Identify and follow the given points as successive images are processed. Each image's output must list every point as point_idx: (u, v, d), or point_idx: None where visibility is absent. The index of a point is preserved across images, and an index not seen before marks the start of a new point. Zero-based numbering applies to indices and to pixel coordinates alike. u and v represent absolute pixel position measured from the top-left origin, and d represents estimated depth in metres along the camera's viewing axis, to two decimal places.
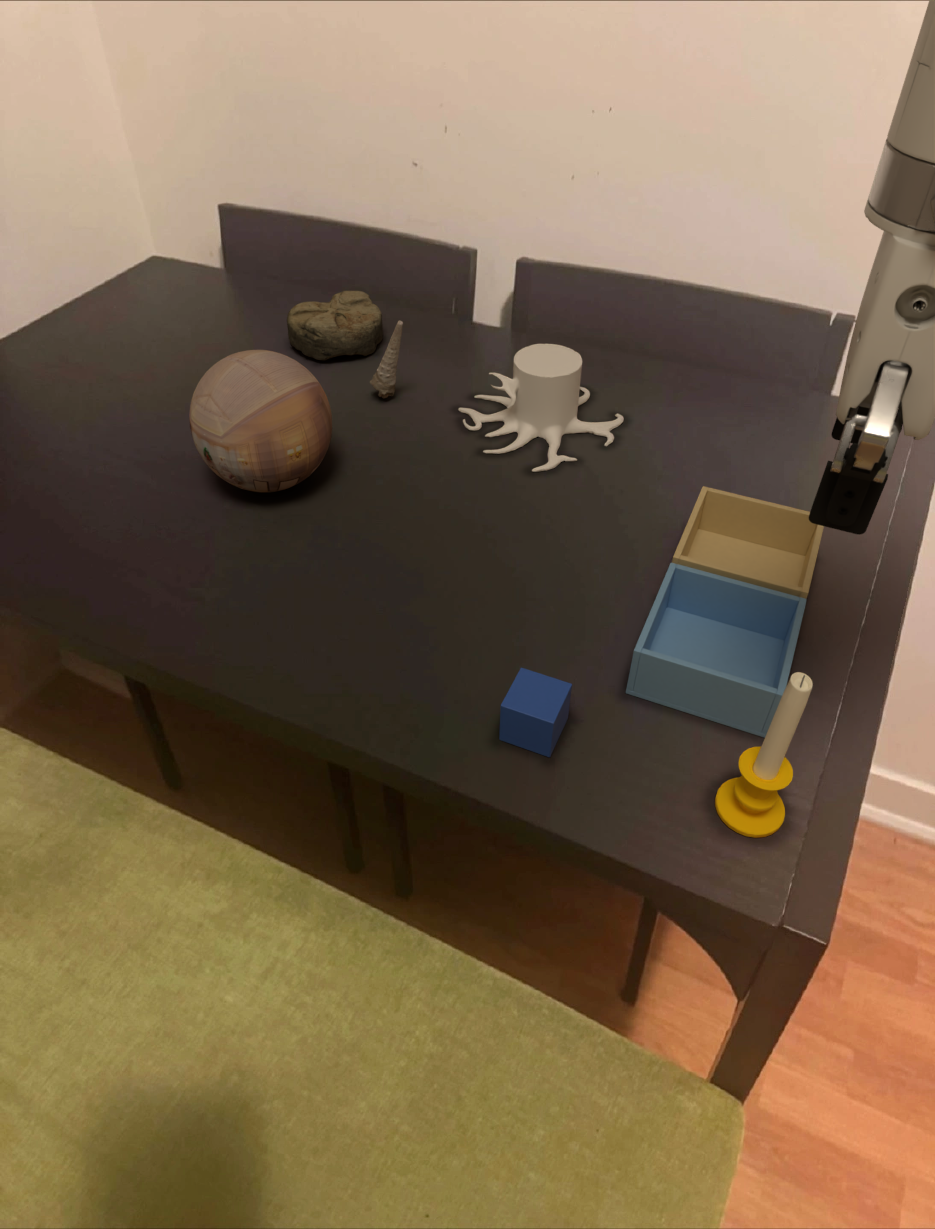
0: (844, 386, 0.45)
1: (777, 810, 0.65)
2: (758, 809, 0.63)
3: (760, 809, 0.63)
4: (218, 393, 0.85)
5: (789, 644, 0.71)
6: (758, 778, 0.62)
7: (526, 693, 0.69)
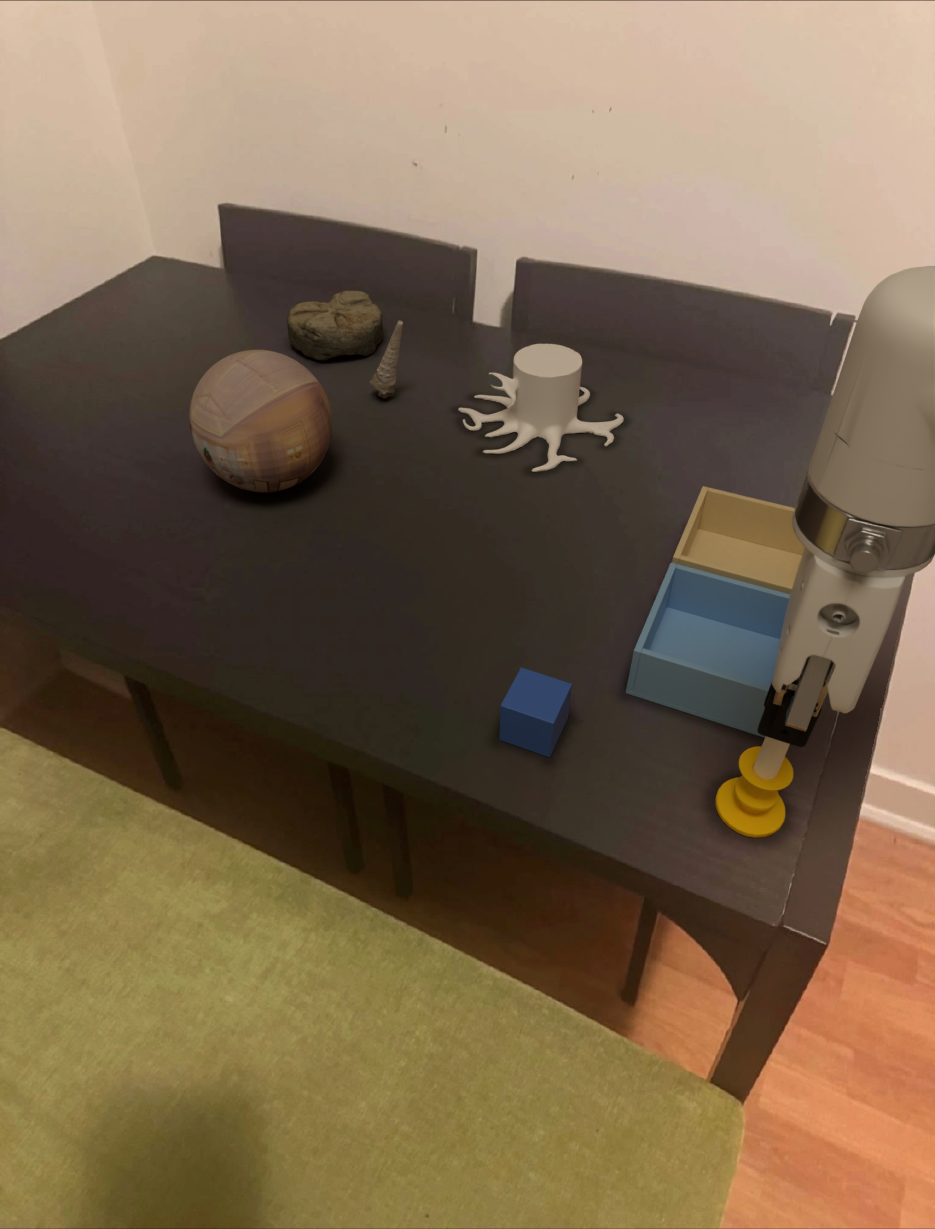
0: (777, 665, 0.50)
1: (777, 810, 0.65)
2: (758, 809, 0.63)
3: (760, 809, 0.63)
4: (218, 393, 0.85)
5: None
6: (758, 778, 0.62)
7: (526, 693, 0.69)
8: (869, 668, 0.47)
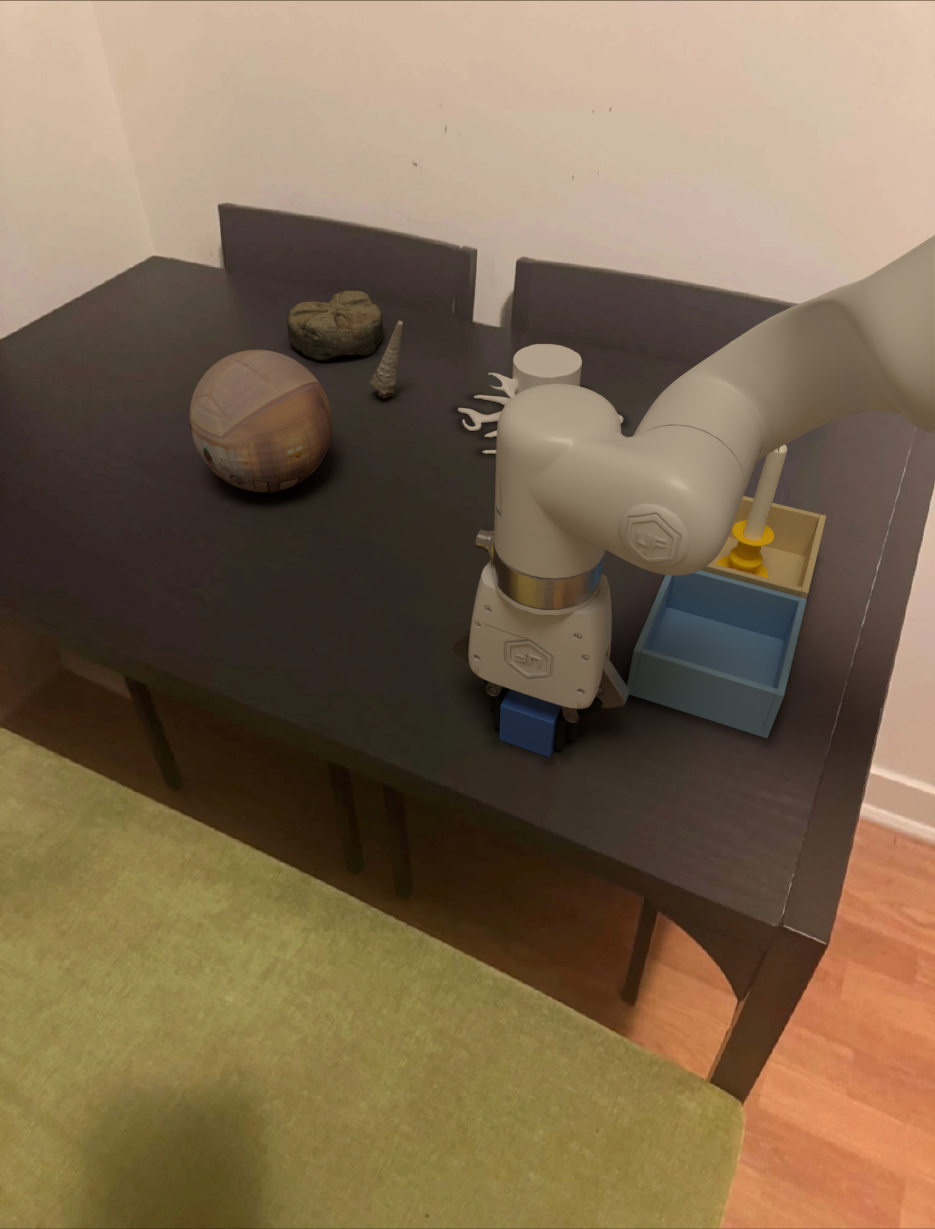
0: None
1: (762, 574, 0.84)
2: (747, 567, 0.82)
3: (749, 567, 0.82)
4: (218, 393, 0.85)
5: (789, 644, 0.71)
6: (747, 539, 0.81)
7: None
8: (471, 635, 0.63)
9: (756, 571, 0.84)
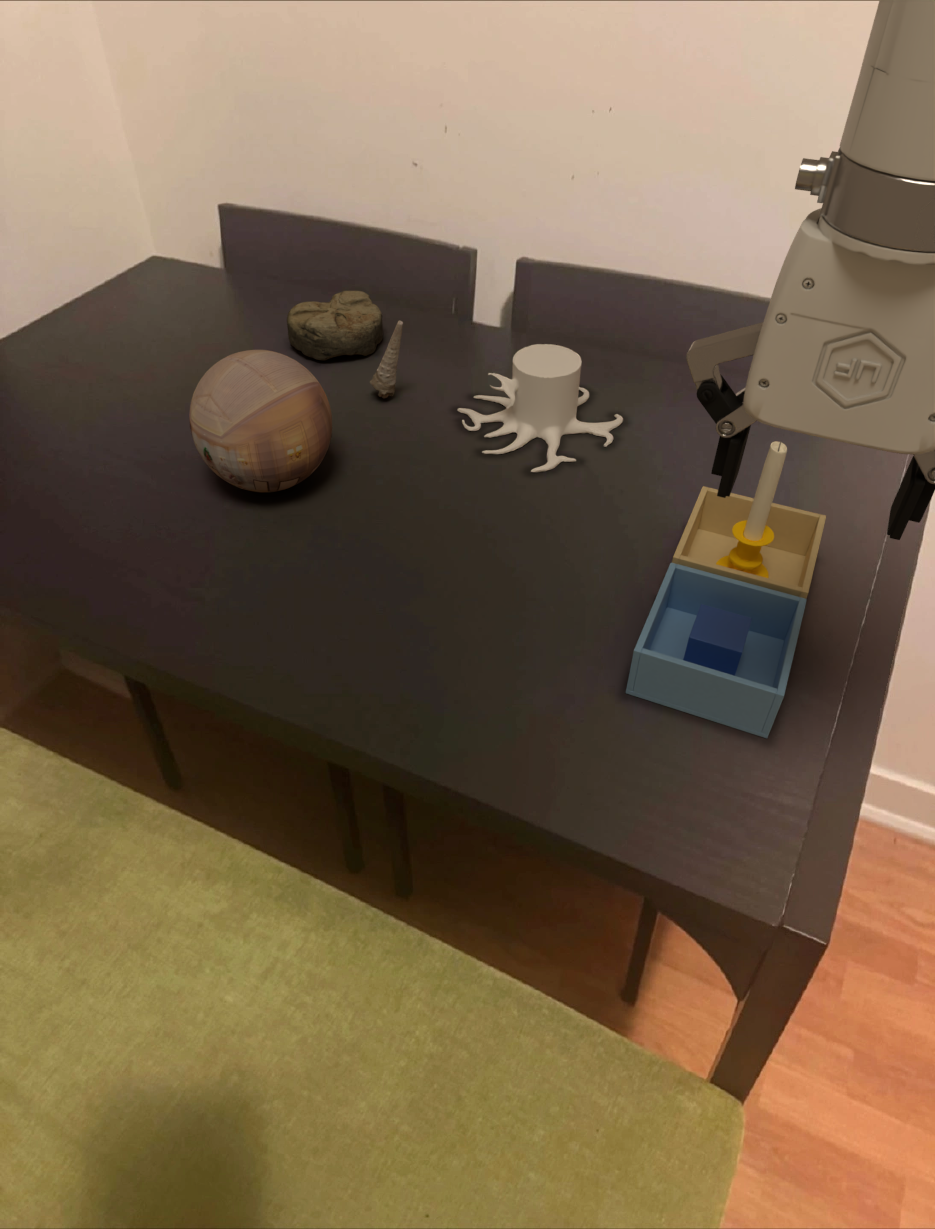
0: None
1: (762, 574, 0.84)
2: (747, 567, 0.82)
3: (749, 567, 0.82)
4: (218, 393, 0.85)
5: (789, 644, 0.71)
6: (747, 539, 0.81)
7: (711, 626, 0.73)
8: (763, 343, 0.43)
9: (756, 571, 0.84)
